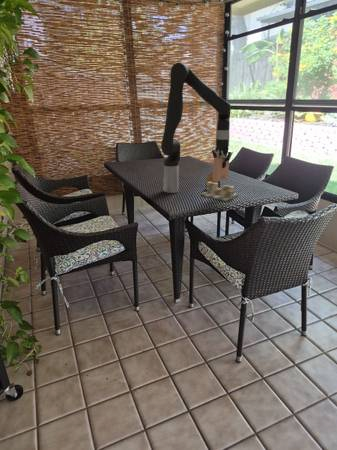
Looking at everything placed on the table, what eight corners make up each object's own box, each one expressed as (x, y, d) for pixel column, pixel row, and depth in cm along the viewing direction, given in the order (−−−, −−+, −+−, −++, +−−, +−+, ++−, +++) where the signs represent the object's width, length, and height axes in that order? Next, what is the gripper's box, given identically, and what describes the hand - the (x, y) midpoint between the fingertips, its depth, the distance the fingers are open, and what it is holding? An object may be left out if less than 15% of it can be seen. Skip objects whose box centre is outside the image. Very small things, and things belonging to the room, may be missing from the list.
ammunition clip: (207, 189, 206) (208, 171, 201) (205, 189, 208) (206, 171, 203) (220, 187, 211) (220, 169, 206) (218, 186, 212) (219, 169, 208)
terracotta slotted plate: (212, 181, 187) (213, 157, 181) (224, 177, 195) (225, 155, 189) (216, 182, 185) (217, 158, 179) (228, 178, 193) (229, 155, 187)
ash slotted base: (201, 195, 195) (201, 184, 192) (214, 190, 204) (214, 179, 201) (225, 201, 183) (226, 189, 180) (238, 195, 193) (239, 184, 190)
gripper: (209, 137, 182) (208, 167, 189) (229, 139, 173) (227, 170, 180) (216, 136, 187) (215, 165, 194) (236, 138, 178) (234, 168, 185)
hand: (221, 167), depth 187 cm, fingers closed on terracotta slotted plate, 3 cm apart
